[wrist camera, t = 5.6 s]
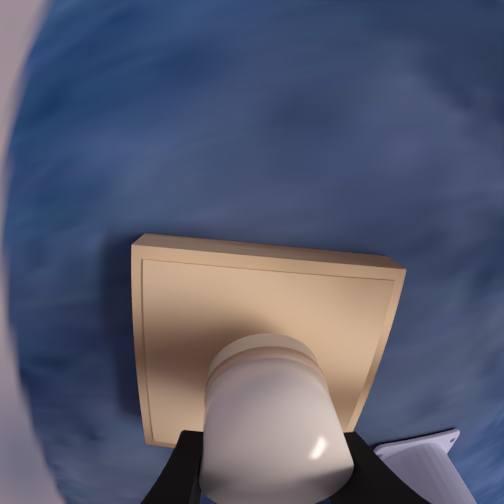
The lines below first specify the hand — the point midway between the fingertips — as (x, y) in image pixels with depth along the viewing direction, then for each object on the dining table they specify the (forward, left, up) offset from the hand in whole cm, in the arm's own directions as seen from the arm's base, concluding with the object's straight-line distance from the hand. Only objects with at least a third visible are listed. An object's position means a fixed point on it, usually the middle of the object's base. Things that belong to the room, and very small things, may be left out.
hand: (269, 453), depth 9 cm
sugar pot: (+1, 0, -3) cm, 3 cm away
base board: (0, 0, -6) cm, 6 cm away
